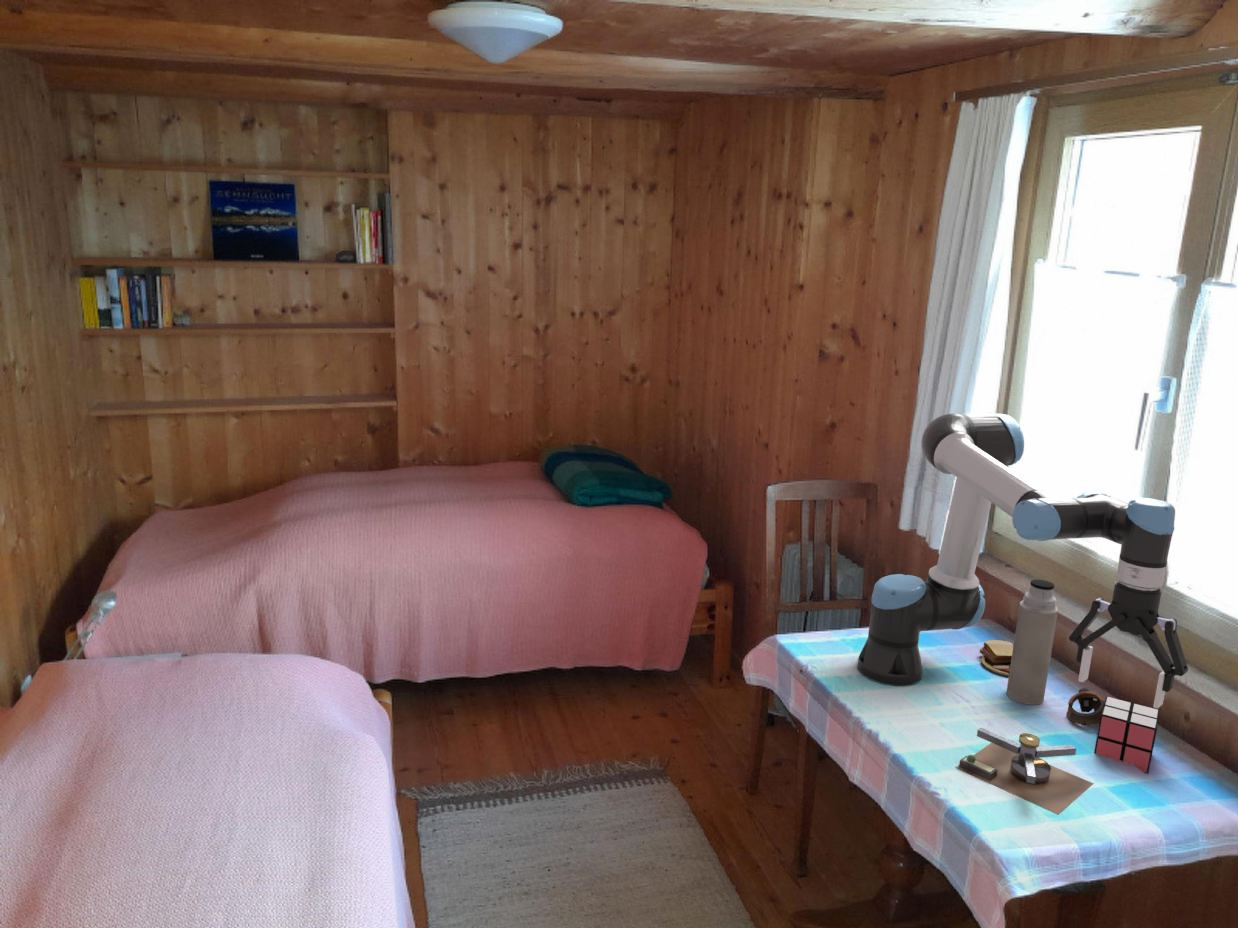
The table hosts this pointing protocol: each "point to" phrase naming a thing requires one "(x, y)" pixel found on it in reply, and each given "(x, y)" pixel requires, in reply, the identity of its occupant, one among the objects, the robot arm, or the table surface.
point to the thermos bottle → (1033, 644)
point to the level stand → (996, 771)
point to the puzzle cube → (1127, 732)
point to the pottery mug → (1085, 707)
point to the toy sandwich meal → (997, 656)
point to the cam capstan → (1028, 755)
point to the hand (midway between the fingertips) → (1119, 692)
